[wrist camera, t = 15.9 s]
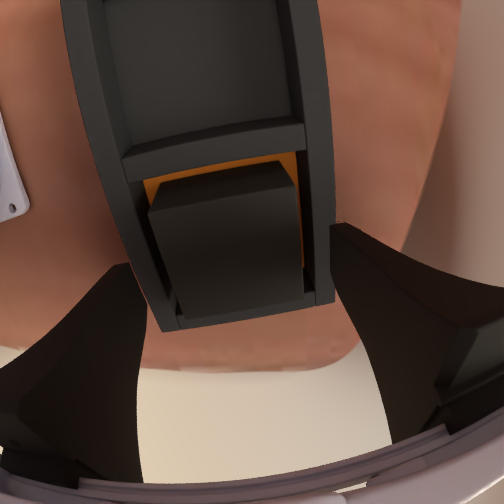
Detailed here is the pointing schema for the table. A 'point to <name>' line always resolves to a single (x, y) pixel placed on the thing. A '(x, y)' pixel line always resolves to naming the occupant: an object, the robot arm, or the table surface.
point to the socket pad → (204, 118)
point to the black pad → (230, 239)
